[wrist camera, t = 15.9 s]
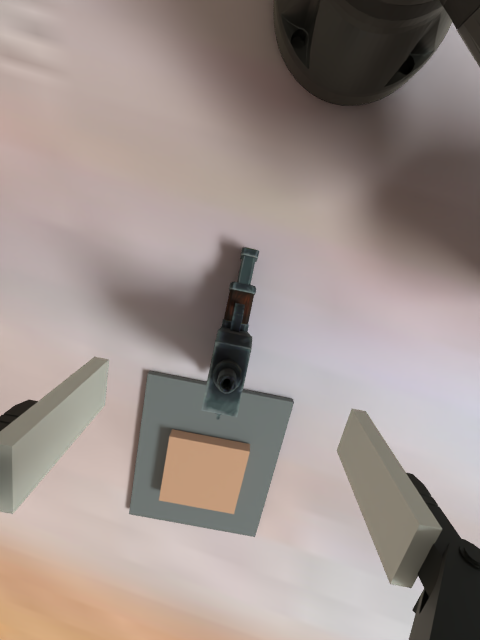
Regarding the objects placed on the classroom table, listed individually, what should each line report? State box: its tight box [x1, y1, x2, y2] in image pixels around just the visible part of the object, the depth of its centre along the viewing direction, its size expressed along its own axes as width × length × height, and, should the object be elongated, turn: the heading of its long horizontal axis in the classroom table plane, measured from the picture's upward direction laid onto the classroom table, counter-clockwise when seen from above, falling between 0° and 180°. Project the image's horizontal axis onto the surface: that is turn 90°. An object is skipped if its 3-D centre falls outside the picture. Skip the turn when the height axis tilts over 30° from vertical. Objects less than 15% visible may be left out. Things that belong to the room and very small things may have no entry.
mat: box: [129, 371, 294, 537], centre depth 39 cm, size 22×18×1 cm
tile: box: [159, 429, 250, 514], centre depth 39 cm, size 2×10×10 cm
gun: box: [201, 247, 259, 420], centre depth 27 cm, size 3×17×15 cm
